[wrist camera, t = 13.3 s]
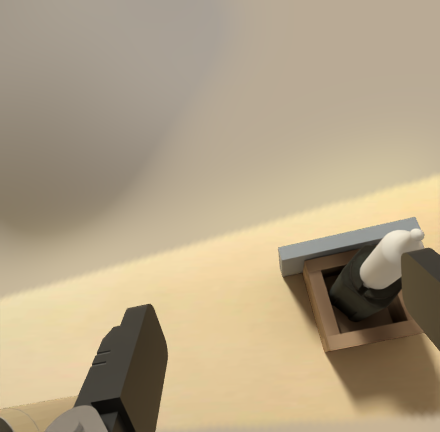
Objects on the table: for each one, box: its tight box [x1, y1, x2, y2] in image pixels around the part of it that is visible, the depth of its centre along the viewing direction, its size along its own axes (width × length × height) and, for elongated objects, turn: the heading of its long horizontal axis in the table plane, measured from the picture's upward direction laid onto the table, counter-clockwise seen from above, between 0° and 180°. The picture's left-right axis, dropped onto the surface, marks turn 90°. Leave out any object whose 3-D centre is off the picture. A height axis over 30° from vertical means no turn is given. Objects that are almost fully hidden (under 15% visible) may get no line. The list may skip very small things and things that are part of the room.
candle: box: [328, 229, 424, 322], centre depth 33 cm, size 5×5×25 cm
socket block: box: [302, 245, 424, 352], centre depth 43 cm, size 10×10×7 cm
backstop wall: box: [278, 217, 421, 277], centre depth 44 cm, size 16×2×9 cm, turn 100°
